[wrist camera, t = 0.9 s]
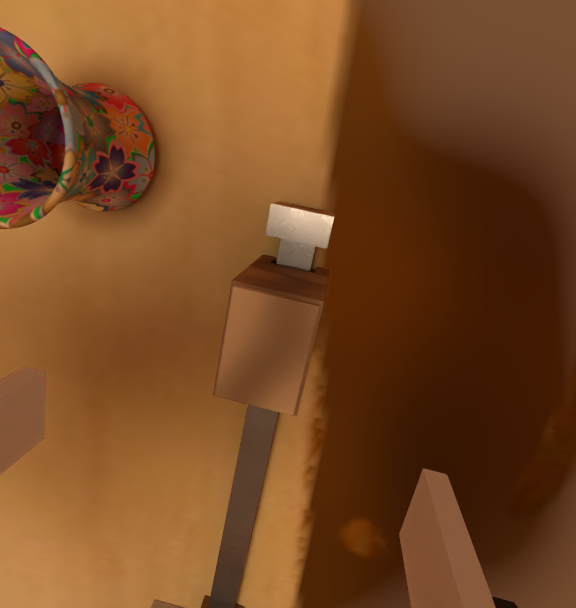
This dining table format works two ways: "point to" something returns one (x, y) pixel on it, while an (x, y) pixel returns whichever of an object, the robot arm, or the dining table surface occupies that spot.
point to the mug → (65, 141)
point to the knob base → (163, 605)
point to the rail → (262, 410)
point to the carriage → (270, 335)
